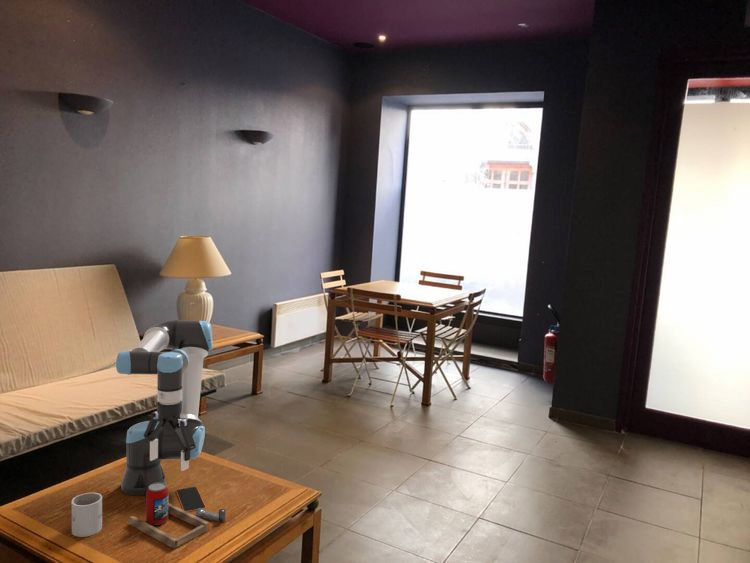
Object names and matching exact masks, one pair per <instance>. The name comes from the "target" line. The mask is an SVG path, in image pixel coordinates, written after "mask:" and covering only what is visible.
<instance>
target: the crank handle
mask: <svg viewBox="0 0 750 563" xmlns="http://www.w3.org/2000/svg"><path fill="white" fill-rule="evenodd" d="M226 511H227V510H226V509H225V508H220V509H218V513H217V512H214V511H213V512H212V511H209V510H206V509H203V508H198V509H197V510H196V511H195V516H197V517H199V518H202V519H203V518H204V519H208V520H212V521H216V522H218V523H225V522H226V514H227V513H226Z"/></svg>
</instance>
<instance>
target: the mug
mask: <svg viewBox="0 0 750 563" xmlns="http://www.w3.org/2000/svg"><path fill="white" fill-rule="evenodd" d="M102 529H103V495H102V494H101V493H98V492H86V493H85V492H84V493H82V494H79V495H76V496H75V497H73V498H72V500H71V534H72V535H73V536H74V537H81V538H83V537H89V536H90V537H91V536H93V535H96V534H97V533H99V532H100V531H101V530H102Z"/></svg>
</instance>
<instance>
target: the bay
mask: <svg viewBox="0 0 750 563" xmlns="http://www.w3.org/2000/svg"><path fill="white" fill-rule="evenodd" d="M168 514H170V515H172V516H175V517H176V518H178V519H180V520H182V521H184V522H186V523H188V524H191V525H192V526H195V528H193V529H191V530H190V531H188V532H186V533H184V534H182V535H179V536H178V537H174V536H172V535H171V534H169V533H167V532H165V531H163V530H161V529H159V528H157V527H155V526H154V525H152V524H149V523H148V522H147V521H144V520H142V519H140V518H138V517H137V516H135V515H131V516H129V525H130V526H132V527H133V528H135V529H137V530H139V531H141V532H142V533H144V534H146V535H148V536H150V537H151V538H154V539H156V540H157V541H159V542H161V543H162V544H164V545H166V546H168V547H170V548H172V549H176V548H178V547H180V546H181V545H183V544H185V543H187V542H189V541H191V540H193V539H194V538H197V537H198V536H200V535H202V534H204V533H206V532H208V531H209V529H210V522H209V521H207V520H205V519H203V518H202V517H197V516H196V514H192V513H191V512H186V511H184V510H183V509H182V508H180V507H178V506H176V505H173V504H171V503H169V502H168Z"/></svg>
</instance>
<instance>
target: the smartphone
mask: <svg viewBox="0 0 750 563" xmlns="http://www.w3.org/2000/svg"><path fill="white" fill-rule="evenodd" d="M175 493H176V496H177V498H178V501H179V503H180V506H181V509H182V510H184V511H186V512H188V513H191V512H196V510H197V509H198V508H203V509H205V510H206V509H207V506H206V504H205V501H204V500H203V498H202V494H201V493H200V491H199V488H198V487H197V486H191V487H184V488H180V489H177V490H175Z"/></svg>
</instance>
